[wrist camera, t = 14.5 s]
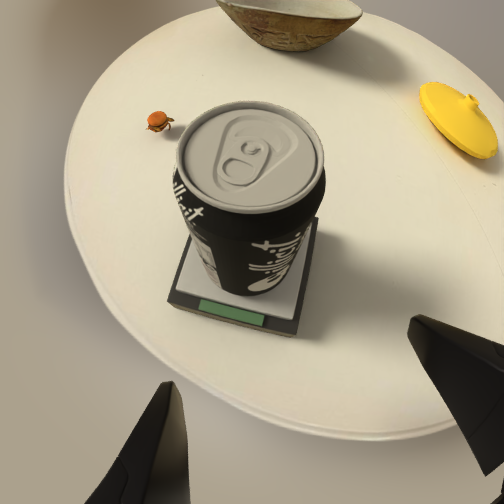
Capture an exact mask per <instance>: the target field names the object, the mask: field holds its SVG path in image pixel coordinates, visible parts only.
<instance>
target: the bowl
mask: <svg viewBox="0 0 504 504" xmlns="http://www.w3.org/2000/svg"><path fill="white" fill-rule="evenodd" d="M216 2H217V3H218V4H219V6H220V7H221V8H222V9H223V10H224V12H225V13H226V14H227V15H228V16H229V17H230V18H231V20H232V21H234V22H235V23H236V24H237V25H238V26H239V27H240V28H241V29H242V30H243V31H244V32H245V33H246V34H247V35H248V36H250V37H251V38H252V39H253V40H255V41H256V42H257V43H259V44H261V45H263V46H266V47H270V48H274V49H279V50H286V51H307V50H311V49H314V48H317V47H319V46H321V45H323V44H325V43H327V42H329V41H330V40H332V39H334V38H335V37H337V36H338V35H339V34H340V33H342V32H344V31H345V30H347V29H348V28H349V27H351V26H352V25H353V24H354V23H355V22H357V21H358V20H359V19H360V17H361V16H362V14H363V11H362V10H361V9H360V8H359V7H358V6H357V5H356V4H354V3H352V2H351V1H348V0H216Z"/></svg>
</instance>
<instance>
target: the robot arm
mask: <svg viewBox="0 0 504 504" xmlns="http://www.w3.org/2000/svg"><path fill="white" fill-rule="evenodd" d="M407 335H408V339H409V341H410V343H411V345H412V346H413V348H414V350H415V352H416V354H417V356H418V358H419V360H420V362H421V364H422V366H423V368H424V369H425V371H426V373H427V374H428V376H429V377H430V379H431V380H432V382H433V384H434V385H435V387H436V388H437V390H438V392H439V393H440V395H441V397H442V398H443V400H444V402H445V403H446V405H447V407H448V408H449V410H450V412H451V413H452V415H453V417H454V419H455V420H456V422H457V424H458V426H459V427H460V429H461V431H462V433H463V434H464V436H465V438H466V440H467V442H468V444H469V446H470V448H471V450H472V452H473V454H474V455H475V458H476V459H477V461H478V463H479V465H480V468H481V470H482V472H483V474H484V475H485V476H487V475H488V474H490V473H491V472H492V471H493V470H495V469H496V468H497V467H498V466H500V465H501V464H502V463H503V462H504V345H501V344H499V343H496V342H493V341H492V342H491V340H488V339H485V338H483V337H480V336H477V335H475V334H472V333H469V332H467V331H464V330H461V329H459V328H456V327H453V326H451V325H448V324H445V323H443V322H440V321H437V320H435V319H432V318H429V317H427V316H424V315H421V314H418V315H416V316H414V317H412V318H411V320H410V324H409V328H408V332H407ZM187 442H188V441H187V432H186V425H185V418H184V410H183V403H182V398H181V395H180V393H179V391H178V389H177V387H176V385H175V383H174V382H173V381H168V382H162V383H161V384H160V386H159V387H158V389H157V391H156V392H155V394H154V396H153V397H152V399H151V401H150V402H149V404H148V406H147V407H146V409H145V411H144V413H143V414H142V416H141V417H140V419H139V421H138V423H137V425H136V426H135V428H134V429H133V431H132V433H131V434H130V436H129V438H128V439H127V441H126V443H125V445H124V446H123V448H122V450H121V451H120V453H119V455H118V457H117V458H116V460H115V461H114V463H113V465H112V466H111V468H110V469H109V471H108V473H107V474H106V476H105V477H104V479H103V480H102V481H101V483H100V484H99V486H98V487H97V488H96V489H95V491H94V492H93V493H92V494H91V496H90V497H89V498H88V499H87V501H86V502H85V503H84V504H190V488H189V469H188V443H187ZM501 493H502V494H501V495H500V496H499V497H498V498H496V499H495V500H494V501H493V502H492V503H491V504H504V480H503V484H502V490H501Z"/></svg>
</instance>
